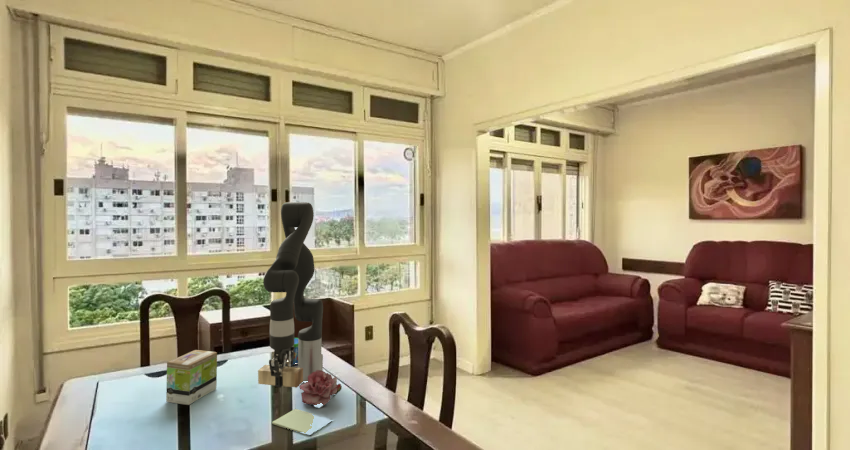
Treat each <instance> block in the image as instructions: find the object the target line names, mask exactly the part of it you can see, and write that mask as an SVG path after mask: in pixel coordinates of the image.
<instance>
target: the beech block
mask: <svg viewBox="0 0 850 450" xmlns="http://www.w3.org/2000/svg"><path fill="white" fill-rule="evenodd" d="M279 370H280V368H279ZM257 374H258V375H257V377H258V378H257V381H258V383H257V384H258V385H264V386H266V385H267V386H275V376H271V372H270V366H269V364H264V365H263V366H262V367H260V368H259V369H258V370H257ZM282 376H283V386H282V387H287V388H295V389H297V388H298V387H299V386H300V385H302V384H303V383H302V382H303V368H298V366H297V367H295V366H291V367H285V368H284V369H283V375H282Z"/></svg>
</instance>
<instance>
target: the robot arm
mask: <svg viewBox="0 0 850 450" xmlns="http://www.w3.org/2000/svg"><path fill="white" fill-rule="evenodd" d="M280 217H281V218H280V219H281V223H282V228H283V233H284V237H285V238H284V240H283V241H282V242H281V243H280V245H279V247H278V250H277V254H276V256H275V259H274V261H273V263H272V264H271V266H270V267H269V268H268V270H267V271H266V272H265V275H264V277H263V288H264V290H265V291H267V292H269V293H285V296H284V297H281V298H275V299H273V300H272V301H271V302H270V304H269V305H270V306H269V309H270V310H269V313H270V314H269V317H270V318H269V319H270V320H269V347H270V349H272V350H273V351H274V352H273V358H272V359H268V365H269V366H270V372H271V376H275V385H274V387H276V388H280V389H281V388H282V387H284V386H283V376H282V375H283V369H284V368H285V367H292V366H294V365H293V360H294V350H295V346H294V338H295V321H294V318H295V320H297V321H298V322H309V323H310V322H311V323H312V324H311V325H310V326H307V327H305V328H302V329H300V330H299V331H298V333H297V338H298V364H297V368H303V381H308V376H309V375H310V374H311V373H312V372H315V371H316V370H322V371H324V369H323V368H324V365H323V364H324V360H323V359H324V358H323V357H324V355H323V354H322V344H323V343H322V340H323V339H322V338H323V335H322V333H323V316H324V304H323V300H322V299H321V298H308V297H307V298H305V296H304V292H305V290H306V287H307V286H308V285H309V283H310V281H312V278H313V276H314V274H315V270H316V268H315V260H314V256H313V253H312V252H311V250H310V248H308V246H307V245H306V244H305V243H304V242H305V240H306V239H307V237H308V234H309V231H311V227H312V226H313V225H312V224H313V221H314V217H315V216H314V207H313V205H312V203H310V202H304V201H298V202H297V201H295V202H293V201H291V202H290V201H287V202H284V203H283V204H281V208H280ZM279 368H280V370H279Z"/></svg>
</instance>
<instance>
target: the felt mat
mask: <svg viewBox="0 0 850 450" xmlns="http://www.w3.org/2000/svg"><path fill="white" fill-rule="evenodd" d="M312 414H313V413H312V412H307V411H305V410H302V409H298V408H294V409H292V410H291V411H289V412H287V413H286V414H283V415H282V416H280V417H278V418H277V419H275V420H273V421H272V422H271V424H272V425H275V426H277V427H280V428H283V429H286V428H287V430H289V429H290V430H289V431H292V430H294V431H293V432H295V431H297V432H296V433H298V432H304V433H306V432H307V431H308V430H309V429H311V428H312V426H310V424H311V425H312V423H313V419H314V416H313V415H312Z"/></svg>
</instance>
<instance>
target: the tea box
mask: <svg viewBox="0 0 850 450" xmlns="http://www.w3.org/2000/svg"><path fill="white" fill-rule="evenodd" d="M217 370H218V351H217V352H216V351H210V350H209V351H208V350H201V349H194V350H192V351H189V352H187V353H185V354H183V355H181V356H178V357H175V358H173V359H171V360H169V361H167V362H166V392H165V393H166V398H165V400H166V402H167V403H173V404H177V405H178V404H180V405H186V406H189V405H191V404H192V403H194V402H196V401H197V400H199V399H201V398H202V397H204V396H206V395H208V394H209V393H211V392H213V391H216V389H217V377H218V376H217V374H218V371H217Z"/></svg>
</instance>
